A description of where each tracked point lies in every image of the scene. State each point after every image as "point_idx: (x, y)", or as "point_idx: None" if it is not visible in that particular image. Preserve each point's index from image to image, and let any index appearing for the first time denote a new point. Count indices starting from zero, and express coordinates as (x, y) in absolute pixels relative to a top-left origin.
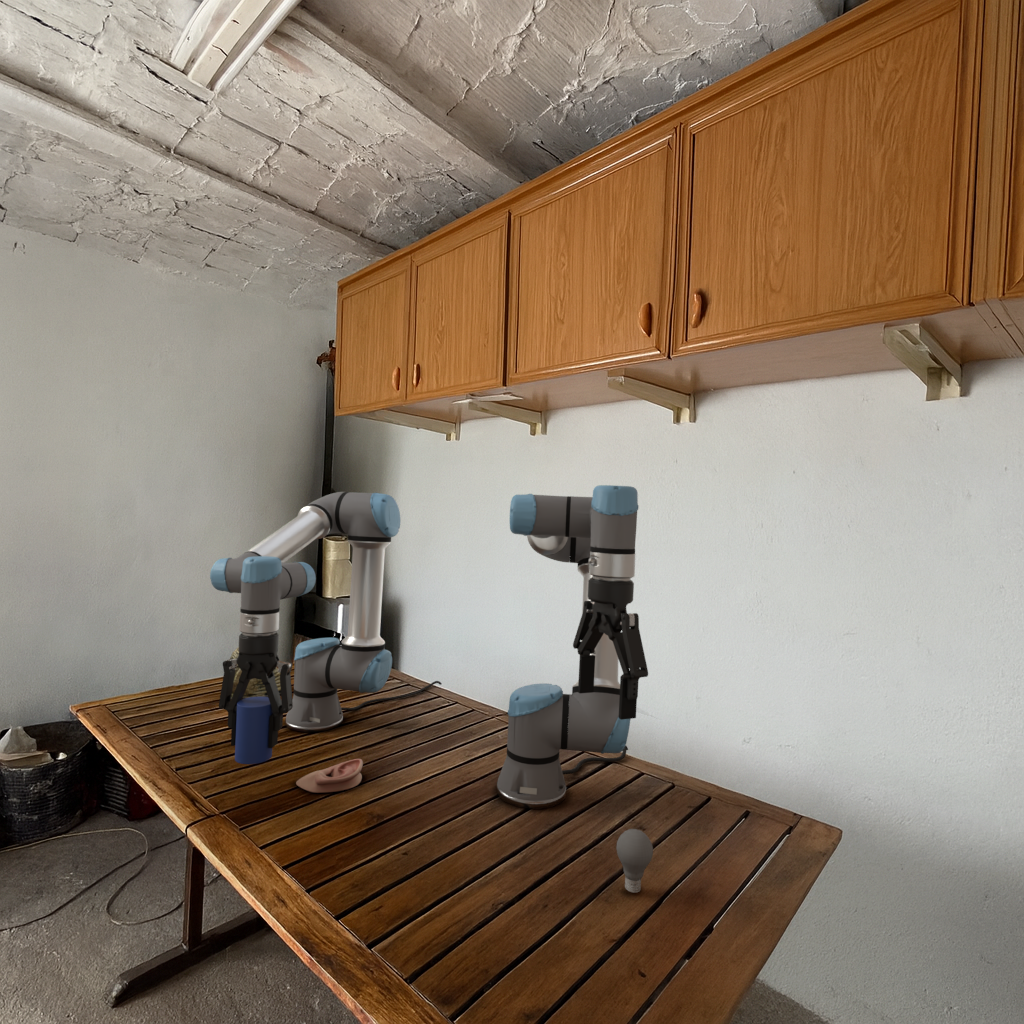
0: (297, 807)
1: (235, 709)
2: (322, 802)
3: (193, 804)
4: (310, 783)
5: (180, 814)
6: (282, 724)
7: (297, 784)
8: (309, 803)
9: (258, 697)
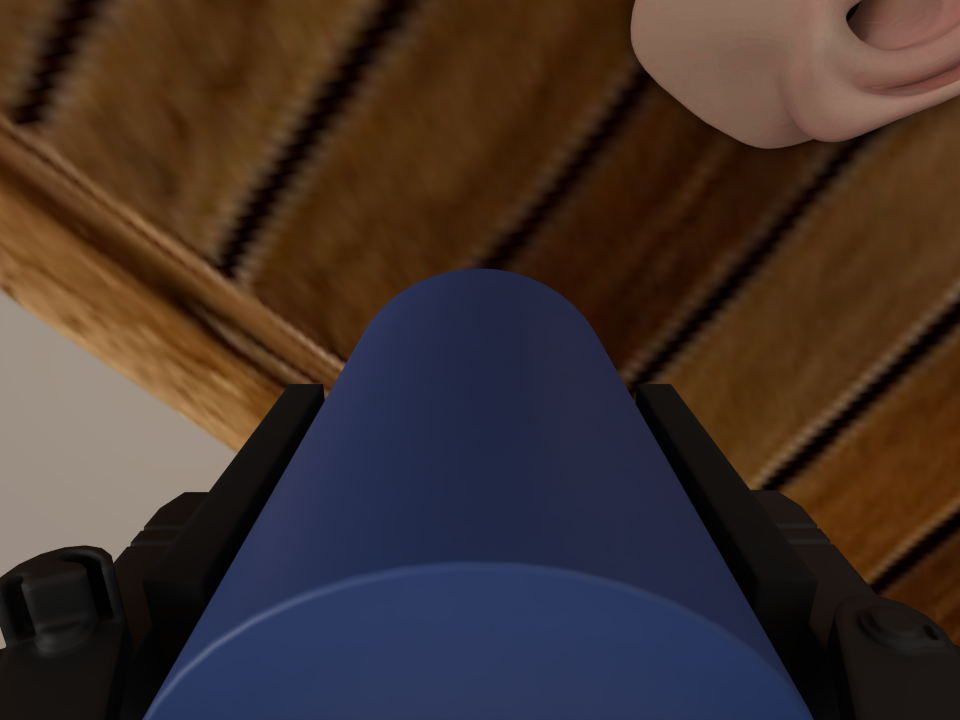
0: (710, 302)
1: (147, 695)
2: (824, 235)
3: (215, 343)
4: (742, 92)
5: (224, 430)
6: (811, 523)
7: (649, 71)
8: (760, 255)
9: (391, 642)
